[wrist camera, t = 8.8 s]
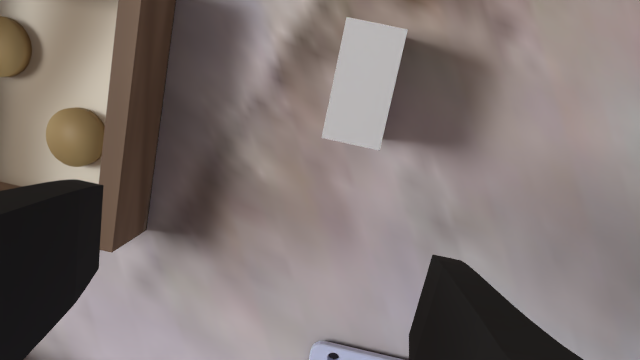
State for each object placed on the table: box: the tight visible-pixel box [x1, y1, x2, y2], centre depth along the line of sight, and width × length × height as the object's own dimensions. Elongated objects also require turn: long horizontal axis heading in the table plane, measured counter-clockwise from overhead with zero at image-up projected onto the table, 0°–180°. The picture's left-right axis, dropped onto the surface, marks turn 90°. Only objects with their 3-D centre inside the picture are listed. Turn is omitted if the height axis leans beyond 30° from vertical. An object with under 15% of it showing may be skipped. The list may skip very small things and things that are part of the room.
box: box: [0, 0, 176, 252], centre depth 21 cm, size 10×10×3 cm
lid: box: [322, 17, 408, 151], centre depth 20 cm, size 11×11×4 cm
